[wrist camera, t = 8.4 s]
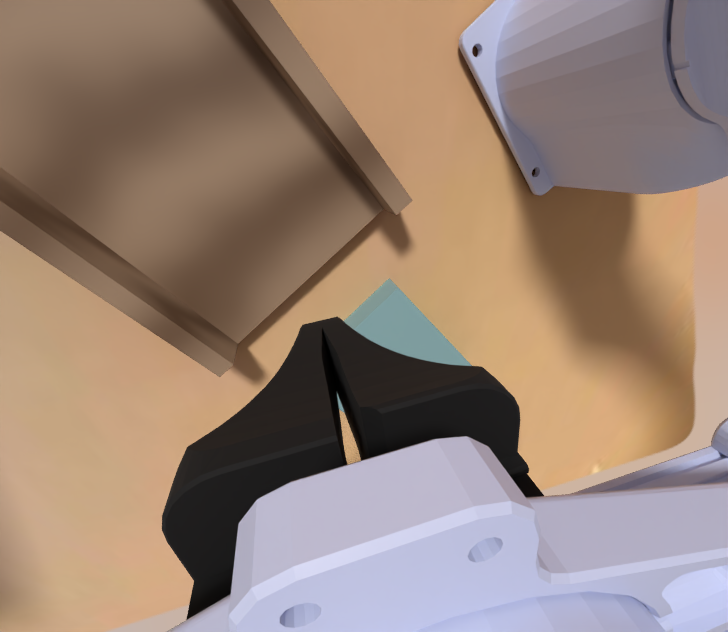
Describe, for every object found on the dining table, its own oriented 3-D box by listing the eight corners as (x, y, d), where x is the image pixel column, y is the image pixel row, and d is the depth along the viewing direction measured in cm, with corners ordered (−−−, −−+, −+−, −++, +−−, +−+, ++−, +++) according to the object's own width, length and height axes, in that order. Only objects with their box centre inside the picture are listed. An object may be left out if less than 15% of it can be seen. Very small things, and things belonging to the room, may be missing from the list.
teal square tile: (462, 356, 25) (478, 372, 23) (383, 425, 26) (392, 446, 24) (387, 275, 21) (398, 287, 19) (297, 361, 22) (299, 381, 20)
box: (393, 194, 18) (412, 200, 16) (227, 348, 20) (219, 377, 17) (8, -324, 10) (-91, -503, 7) (-232, 15, 11) (-387, -28, 9)
